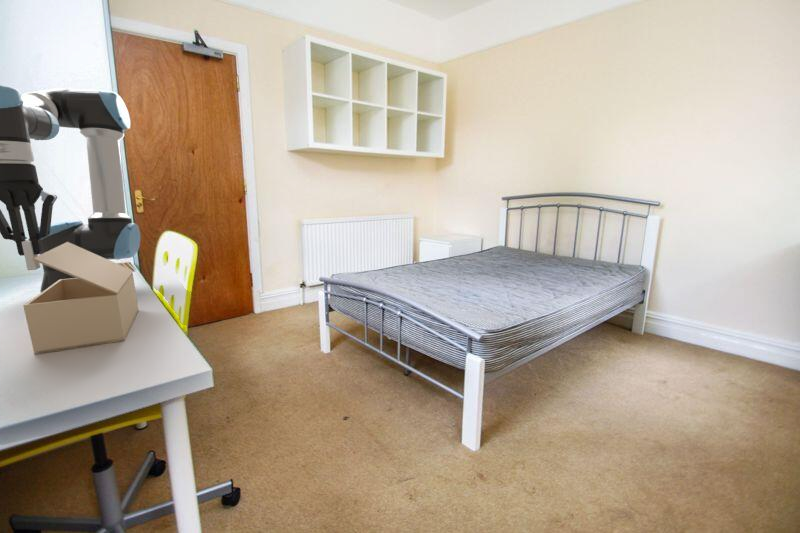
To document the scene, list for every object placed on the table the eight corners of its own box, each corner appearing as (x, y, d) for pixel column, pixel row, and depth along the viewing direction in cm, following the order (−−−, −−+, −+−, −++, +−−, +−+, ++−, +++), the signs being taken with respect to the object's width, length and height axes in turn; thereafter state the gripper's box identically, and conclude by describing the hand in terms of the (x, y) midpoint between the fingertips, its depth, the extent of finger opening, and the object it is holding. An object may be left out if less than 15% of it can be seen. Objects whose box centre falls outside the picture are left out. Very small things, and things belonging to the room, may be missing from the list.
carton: (67, 319, 105) (59, 279, 102) (138, 310, 112) (132, 272, 109) (34, 354, 84) (23, 305, 81) (124, 340, 91) (116, 295, 88)
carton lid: (66, 243, 101) (67, 241, 101) (132, 272, 109) (133, 270, 109) (32, 259, 80) (33, 258, 80) (116, 294, 88) (117, 292, 88)
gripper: (-40, 161, 79) (-12, 275, 84) (44, 162, 84) (65, 269, 90) (-21, 163, 85) (3, 268, 91) (55, 163, 91) (74, 263, 96)
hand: (34, 268), depth 90 cm, fingers closed
